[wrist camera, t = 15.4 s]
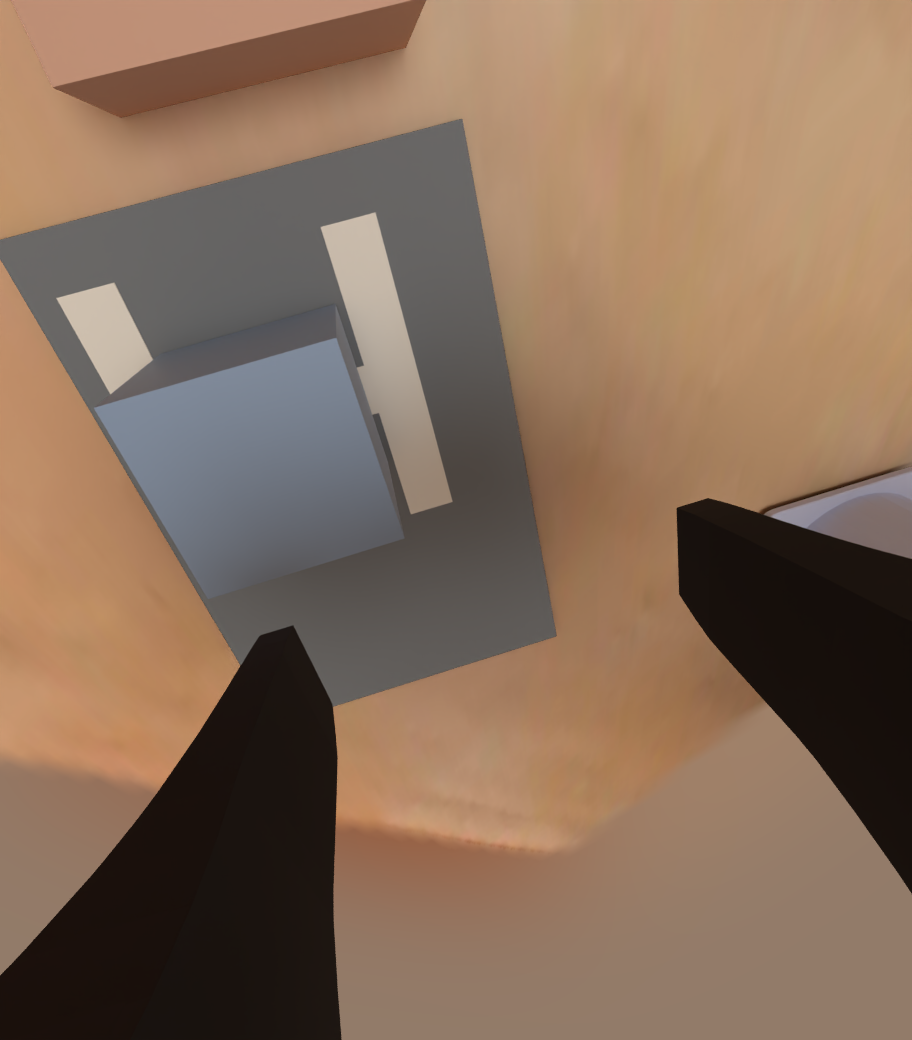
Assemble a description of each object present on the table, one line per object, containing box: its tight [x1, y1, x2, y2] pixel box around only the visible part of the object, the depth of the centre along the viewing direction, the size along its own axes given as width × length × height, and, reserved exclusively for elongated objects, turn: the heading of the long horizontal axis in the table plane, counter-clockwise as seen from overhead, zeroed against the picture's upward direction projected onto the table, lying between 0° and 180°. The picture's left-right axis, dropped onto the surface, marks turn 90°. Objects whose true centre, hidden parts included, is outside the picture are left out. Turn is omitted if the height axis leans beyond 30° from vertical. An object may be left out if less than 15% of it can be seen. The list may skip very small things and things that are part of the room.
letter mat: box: [0, 119, 557, 706], centre depth 19 cm, size 18×12×1 cm, turn 13°
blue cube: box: [94, 304, 404, 599], centre depth 15 cm, size 5×5×5 cm
